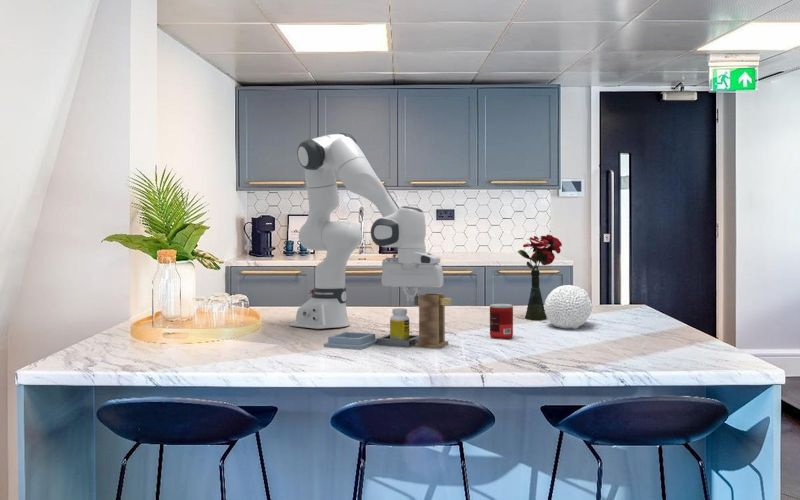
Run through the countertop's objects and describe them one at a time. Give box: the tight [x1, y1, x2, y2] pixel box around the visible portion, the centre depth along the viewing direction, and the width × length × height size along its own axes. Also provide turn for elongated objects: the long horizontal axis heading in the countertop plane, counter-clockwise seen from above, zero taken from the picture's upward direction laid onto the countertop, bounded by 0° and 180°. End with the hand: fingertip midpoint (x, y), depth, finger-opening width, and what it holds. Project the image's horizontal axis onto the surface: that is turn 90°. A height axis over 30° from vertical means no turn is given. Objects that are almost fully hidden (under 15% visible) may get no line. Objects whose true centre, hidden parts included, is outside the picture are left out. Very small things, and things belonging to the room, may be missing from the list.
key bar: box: [413, 295, 452, 306], centre depth 190 cm, size 11×4×3 cm, turn 67°
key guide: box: [414, 292, 449, 349], centre depth 190 cm, size 8×8×16 cm
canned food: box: [489, 303, 514, 340], centre depth 206 cm, size 8×8×11 cm
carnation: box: [516, 234, 563, 321], centre depth 242 cm, size 16×18×35 cm
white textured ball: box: [544, 284, 593, 330], centre depth 225 cm, size 20×18×16 cm
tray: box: [323, 331, 377, 351], centre depth 192 cm, size 13×13×3 cm
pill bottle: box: [389, 307, 410, 340], centre depth 194 cm, size 6×6×11 cm
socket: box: [376, 333, 419, 348], centre depth 195 cm, size 11×11×2 cm
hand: (412, 301), depth 192 cm, fingers closed
